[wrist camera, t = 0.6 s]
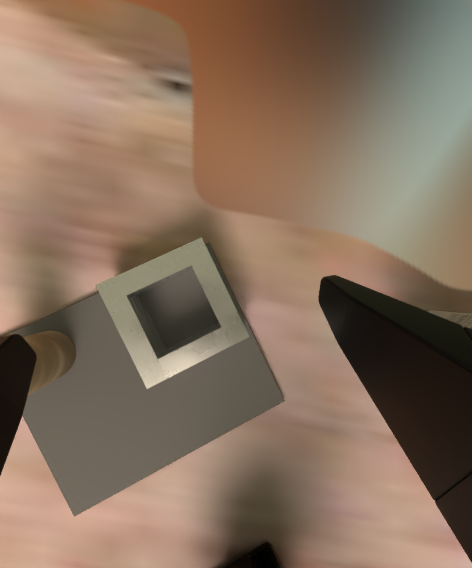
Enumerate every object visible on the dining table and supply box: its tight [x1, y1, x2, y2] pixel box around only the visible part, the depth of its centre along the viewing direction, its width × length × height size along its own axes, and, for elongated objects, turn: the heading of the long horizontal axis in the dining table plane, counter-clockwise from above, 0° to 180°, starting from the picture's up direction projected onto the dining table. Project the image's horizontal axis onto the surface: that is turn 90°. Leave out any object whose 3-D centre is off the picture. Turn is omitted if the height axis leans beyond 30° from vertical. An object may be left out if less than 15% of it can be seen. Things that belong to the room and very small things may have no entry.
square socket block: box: [96, 237, 249, 389], centre depth 20 cm, size 8×8×4 cm
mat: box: [8, 243, 285, 516], centre depth 22 cm, size 16×20×1 cm
